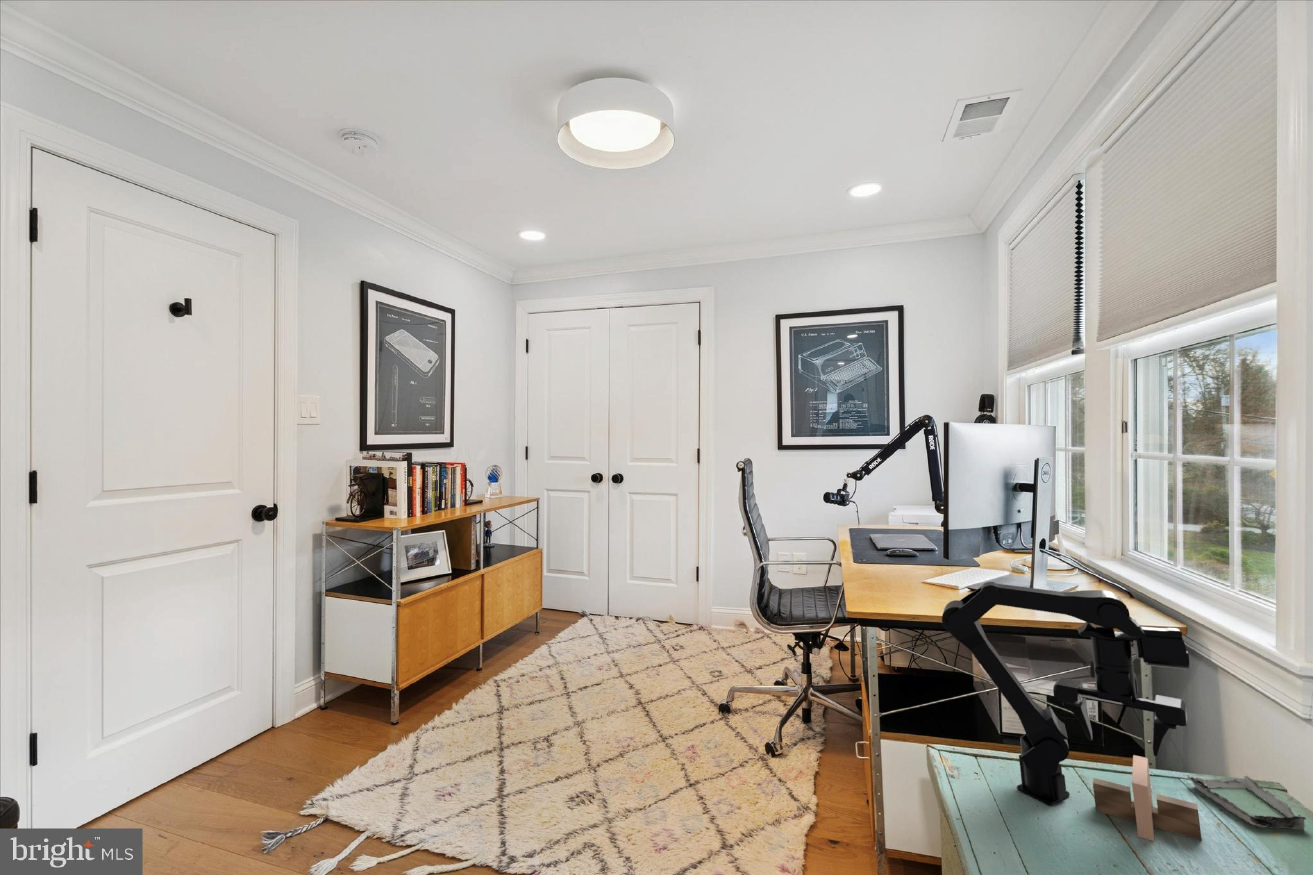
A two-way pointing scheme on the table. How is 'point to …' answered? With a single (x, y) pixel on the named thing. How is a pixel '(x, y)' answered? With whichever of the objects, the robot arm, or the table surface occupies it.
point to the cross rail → (1165, 817)
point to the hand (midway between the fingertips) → (1122, 747)
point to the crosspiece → (1142, 797)
